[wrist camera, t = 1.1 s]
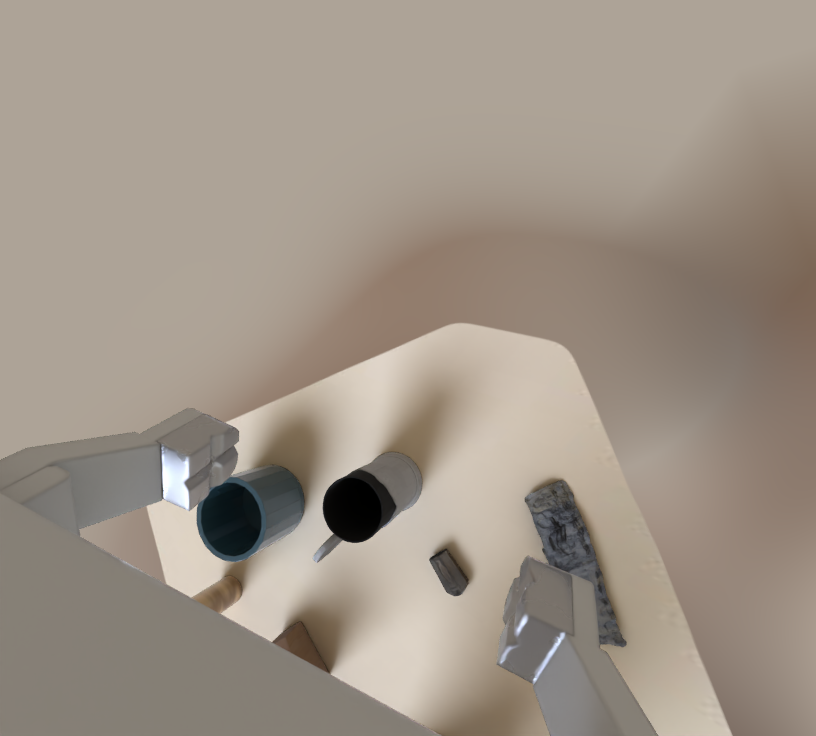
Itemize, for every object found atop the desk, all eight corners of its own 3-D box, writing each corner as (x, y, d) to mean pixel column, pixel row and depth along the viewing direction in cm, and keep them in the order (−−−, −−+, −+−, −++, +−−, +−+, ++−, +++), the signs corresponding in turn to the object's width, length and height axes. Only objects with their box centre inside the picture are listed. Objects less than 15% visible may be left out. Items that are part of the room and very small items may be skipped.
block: (448, 545, 60) (445, 550, 58) (472, 584, 58) (470, 590, 57) (427, 558, 60) (424, 563, 59) (451, 596, 59) (449, 602, 57)
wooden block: (280, 633, 67) (192, 718, 49) (301, 619, 66) (218, 702, 48) (309, 687, 65) (228, 796, 47) (331, 674, 64) (256, 780, 47)
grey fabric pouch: (521, 488, 57) (521, 492, 55) (572, 477, 55) (574, 480, 53) (569, 644, 55) (570, 654, 53) (623, 638, 53) (627, 648, 51)
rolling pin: (241, 605, 69) (158, 666, 54) (219, 601, 70) (131, 660, 55) (241, 577, 69) (158, 631, 54) (219, 574, 70) (132, 626, 55)
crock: (304, 540, 66) (265, 566, 57) (242, 534, 69) (195, 557, 60) (304, 466, 67) (266, 479, 57) (242, 463, 70) (197, 475, 61)
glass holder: (434, 480, 61) (403, 508, 46) (375, 550, 63) (329, 598, 48) (389, 439, 63) (347, 455, 49) (334, 509, 65) (278, 543, 51)
